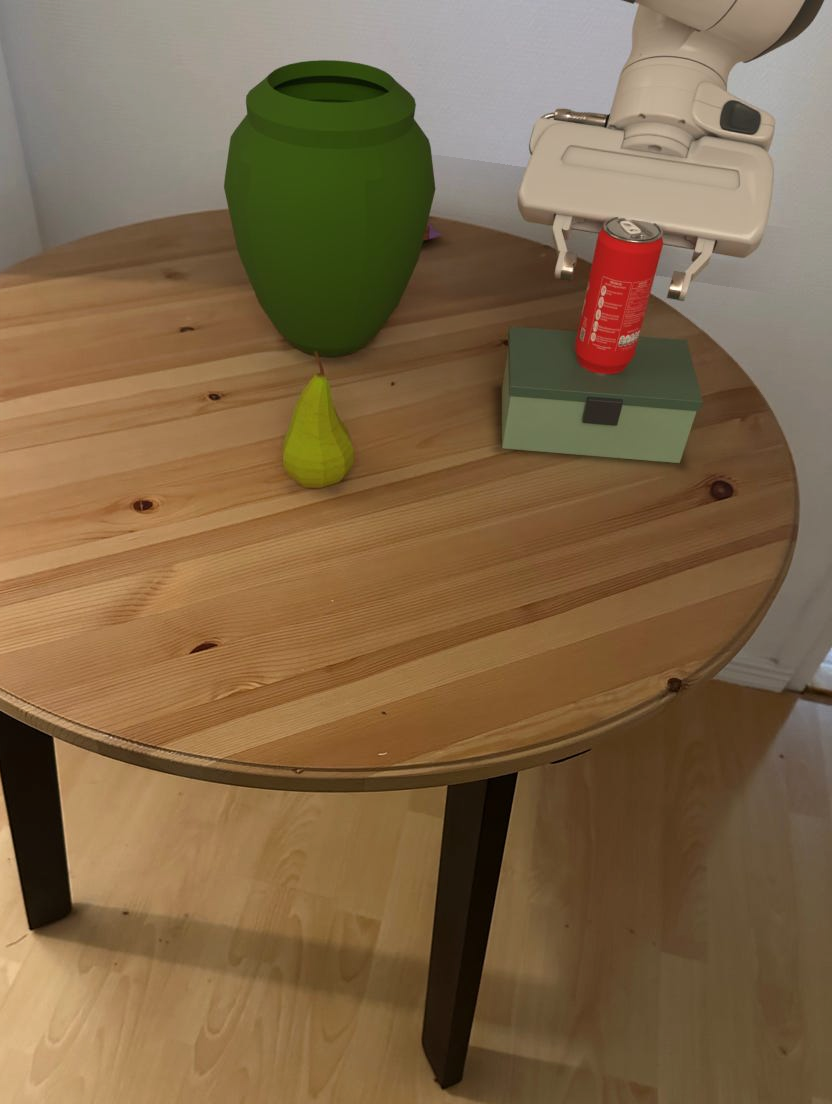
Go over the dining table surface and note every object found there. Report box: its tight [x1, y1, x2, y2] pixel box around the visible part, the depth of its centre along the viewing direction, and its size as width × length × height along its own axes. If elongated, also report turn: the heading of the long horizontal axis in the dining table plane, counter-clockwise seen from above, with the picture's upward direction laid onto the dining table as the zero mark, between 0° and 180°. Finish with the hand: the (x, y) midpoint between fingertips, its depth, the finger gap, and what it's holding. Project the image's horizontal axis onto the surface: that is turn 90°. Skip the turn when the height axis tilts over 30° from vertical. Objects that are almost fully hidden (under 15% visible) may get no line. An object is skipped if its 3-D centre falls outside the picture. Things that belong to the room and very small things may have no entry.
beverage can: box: [575, 217, 664, 375], centre depth 84 cm, size 5×5×12 cm
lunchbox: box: [501, 326, 704, 464], centre depth 90 cm, size 16×11×7 cm
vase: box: [223, 59, 436, 357], centre depth 93 cm, size 20×20×24 cm
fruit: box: [282, 351, 355, 489], centre depth 81 cm, size 6×6×12 cm
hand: (618, 287), depth 82 cm, fingers open, 8 cm apart
